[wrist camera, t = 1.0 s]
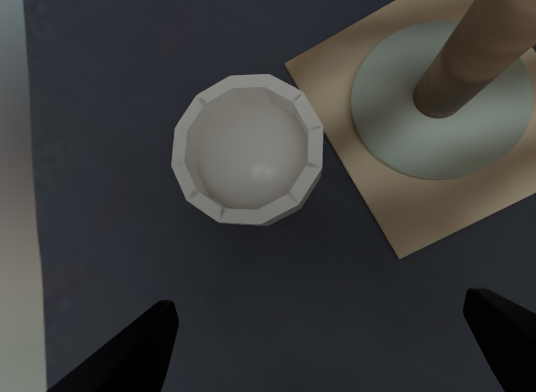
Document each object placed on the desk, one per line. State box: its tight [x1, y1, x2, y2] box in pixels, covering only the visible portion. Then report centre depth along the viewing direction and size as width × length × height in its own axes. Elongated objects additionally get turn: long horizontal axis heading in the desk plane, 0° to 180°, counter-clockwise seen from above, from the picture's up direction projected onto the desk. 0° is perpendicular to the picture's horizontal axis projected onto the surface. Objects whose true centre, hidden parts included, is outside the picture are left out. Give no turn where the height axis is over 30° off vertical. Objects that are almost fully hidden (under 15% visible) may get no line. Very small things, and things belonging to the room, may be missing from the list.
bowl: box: [171, 74, 323, 226], centre depth 21 cm, size 11×11×3 cm
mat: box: [285, 0, 536, 259], centre depth 21 cm, size 18×16×1 cm
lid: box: [350, 0, 536, 180], centre depth 16 cm, size 12×12×11 cm
